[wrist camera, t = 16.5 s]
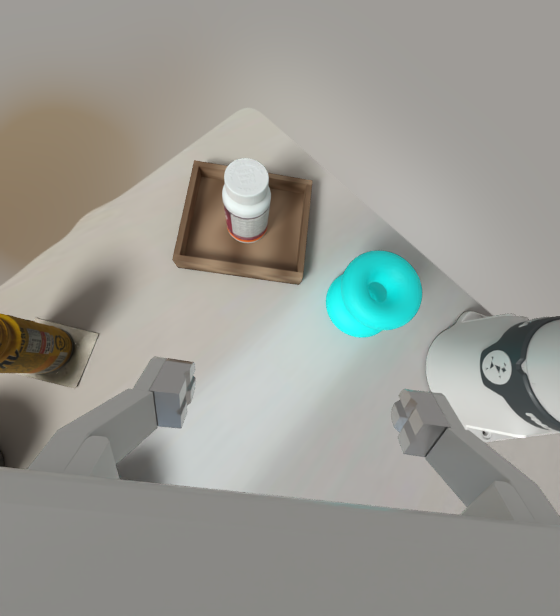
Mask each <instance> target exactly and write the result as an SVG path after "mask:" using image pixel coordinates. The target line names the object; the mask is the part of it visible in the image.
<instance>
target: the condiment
mask: <svg viewBox="0 0 560 616" xmlns="http://www.w3.org/2000/svg"><path fill="white" fill-rule="evenodd" d="M97 337H98V334H97V333H93V332H89V331H85V330H81V329H77V328H73V327H69V326H65V325H61V324H57V323H53V322H50V321H46V320H42V319H38V318H35V320H34V321H30V320H25V319H21V318H17V317H13V316H10V315H4V314H0V373H14V374H18V375H22V376H26V377H31V378H35V379H39V380H42V381H46V382H51V383H55V384H59V385H63V386H66V387H70V388H76V386H77V384H78V382H79V380H80V378H81V375H82V373H83V370H84V369H85V366H86V364H87V361H88V359H89V357H90V354H91V351H92V349H93V347H94V345H95V342H96V339H97ZM75 343H77V344H75ZM77 345H78V347H77Z"/></svg>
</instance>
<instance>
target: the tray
mask: <svg viewBox="0 0 560 616" xmlns="http://www.w3.org/2000/svg"><path fill="white" fill-rule="evenodd" d="M227 167H228V166H224V165H218V164H213V163H207V162H201V161H195V160H194V164H193V168H192V173H191V177H190V182H189V186H188V191H187V195H186V200H185V205H184V209H183V214H182V218H181V223H180V227H179V232H178V236H177V241H176V245H175V250H174V254H173V259H172V260H173V261H174V263H175V264H176V266H177V267H178V268H185V269H192V270H199V271H206V272H213V273H220V274H227V275H234V276H241V277H248V278H255V279H262V280H269V281H276V282H283V283H290V284H297V285H299V284H300V282H301V280H302V278H303V269H304V259H305V249H306V239H307V230H308V220H309V210H310V200H311V190H312V180H306V179H300V178H294V177H289V176H283V175H277V174H271V173H268V176H269V184H268V186H269V188H270V191H271V202H270V209H269V218H268V226H267V230H266V233H265V235H264V236H263V237H262V238H261V239H260V240H258V241H256V242H253V243H242V242H239V241H237V240H236V239H234V238H233V237H232V236H231V235H230V233H229V231H228V229H227V223H226V217H225V210H224V204H223V199H222V190H223V186H224V184H225V181H224V174H225V170H226V168H227Z"/></svg>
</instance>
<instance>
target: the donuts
mask: <svg viewBox="0 0 560 616" xmlns="http://www.w3.org/2000/svg"><path fill="white" fill-rule="evenodd" d="M421 300H422V286H421V282H420V279H419V277H418V275H417V273H416V271H415V270H414V268H413V267H412V266H411V265H410V264H409V263H408V262H407V261H406V260H405V259H403V258H402V257H400V256H399V255H396V254H394V253H391V252H387V251H370V252H366V253H364V254H361V255H359V256H358V257H356V258H355V259H354V260H353V261H352V262H351V263H350V264H349V265H348V266H347V268H346V270H345V272H344V274H342V275H340V276H339V277H338V278H336V279H335V280H334V281H333V283H332V284H331V286H330V287H329V289H328V292H327V296H326V308H327V312H328V315H329V317H330V319H331V321H332V322H333V323H334V325H335V326H336V327H337V328H338V329H340V330H341V331H342V332H344V333H346V334H348V335H351V336H354V337H370V336H373V335H376V334H378V333H379V332H381V331H382V330H392V329H396V328H399V327H401V326H403V325H405V324H406V323H408V322H409V321H410V320H411V319H412V318H413V317H414V316H415V315H416V313H417V311H418V309H419V307H420V304H421Z"/></svg>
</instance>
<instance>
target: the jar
mask: <svg viewBox="0 0 560 616" xmlns="http://www.w3.org/2000/svg"><path fill="white" fill-rule="evenodd" d="M0 467H4V460H3V456H2V453H1V451H0Z"/></svg>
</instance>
